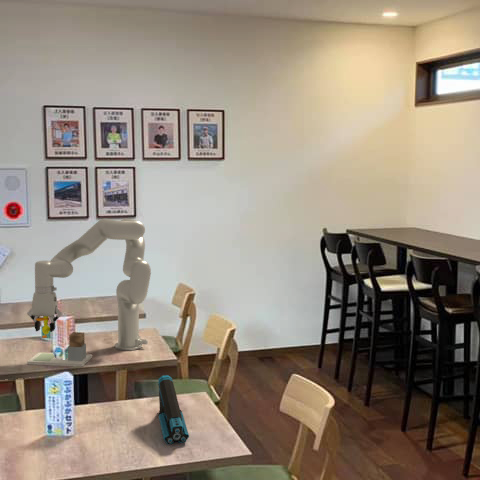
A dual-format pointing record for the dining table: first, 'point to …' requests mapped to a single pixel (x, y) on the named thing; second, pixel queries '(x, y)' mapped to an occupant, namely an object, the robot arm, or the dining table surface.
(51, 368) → the dining table surface
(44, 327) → the toy figure
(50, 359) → the build plate
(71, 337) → the walnut cube
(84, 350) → the pedestal
